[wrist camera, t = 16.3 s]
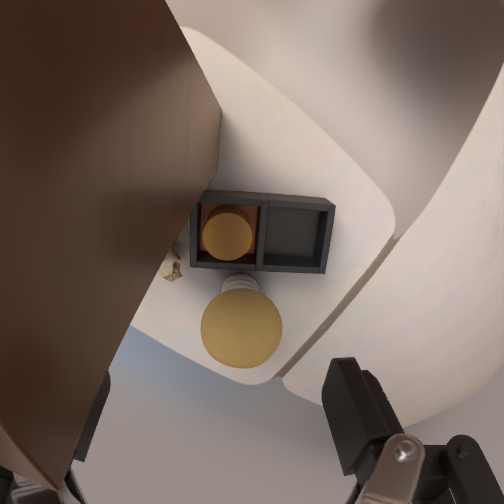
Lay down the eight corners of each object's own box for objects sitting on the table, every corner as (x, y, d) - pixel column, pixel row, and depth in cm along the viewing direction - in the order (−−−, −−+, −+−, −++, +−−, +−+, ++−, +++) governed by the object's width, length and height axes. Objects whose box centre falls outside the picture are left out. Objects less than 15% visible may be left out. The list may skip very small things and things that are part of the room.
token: (205, 246, 27) (201, 259, 25) (206, 203, 26) (202, 211, 23) (249, 249, 28) (250, 262, 25) (252, 205, 26) (254, 214, 24)
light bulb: (199, 304, 30) (187, 371, 21) (219, 248, 28) (212, 303, 19) (258, 322, 32) (266, 390, 22) (282, 270, 30) (302, 330, 20)
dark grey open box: (194, 254, 29) (189, 267, 26) (195, 189, 26) (190, 195, 23) (316, 260, 29) (324, 274, 26) (325, 198, 27) (336, 205, 24)
